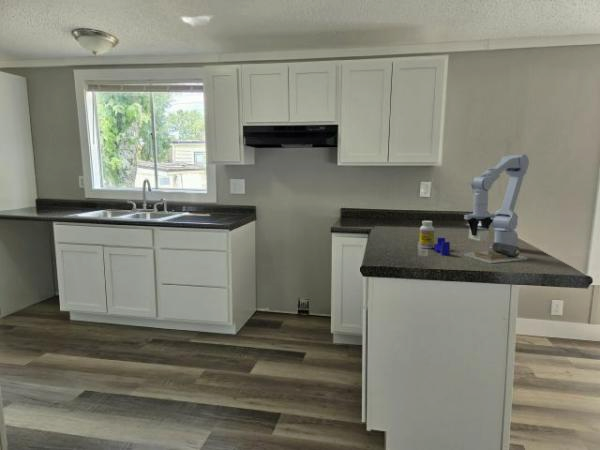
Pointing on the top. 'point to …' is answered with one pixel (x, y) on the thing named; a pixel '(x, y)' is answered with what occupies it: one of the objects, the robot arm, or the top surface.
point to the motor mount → (498, 254)
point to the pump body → (480, 234)
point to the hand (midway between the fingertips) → (479, 235)
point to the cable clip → (442, 247)
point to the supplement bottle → (426, 235)
